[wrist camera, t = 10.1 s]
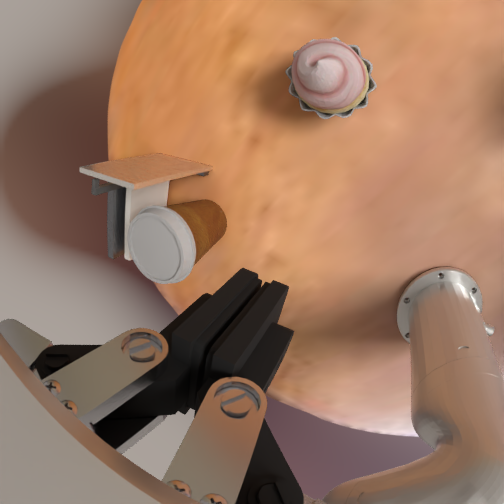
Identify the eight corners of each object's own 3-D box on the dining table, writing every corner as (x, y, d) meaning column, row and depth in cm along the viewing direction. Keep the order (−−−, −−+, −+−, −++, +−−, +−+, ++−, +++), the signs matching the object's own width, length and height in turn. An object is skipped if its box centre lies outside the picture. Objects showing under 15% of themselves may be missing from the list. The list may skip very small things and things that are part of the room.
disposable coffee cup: (245, 246, 41) (199, 284, 31) (193, 256, 46) (142, 290, 35) (225, 180, 39) (169, 198, 29) (173, 197, 43) (115, 219, 33)
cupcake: (356, 40, 26) (347, 5, 17) (387, 110, 28) (392, 97, 19) (285, 65, 30) (253, 41, 22) (313, 132, 32) (290, 129, 24)
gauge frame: (212, 166, 39) (134, 184, 26) (198, 263, 46) (132, 310, 33) (158, 152, 41) (78, 166, 29) (150, 242, 48) (83, 278, 36)
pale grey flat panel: (171, 164, 41) (96, 180, 29) (163, 242, 46) (98, 277, 34) (166, 162, 41) (91, 178, 29) (158, 240, 47) (94, 274, 35)
